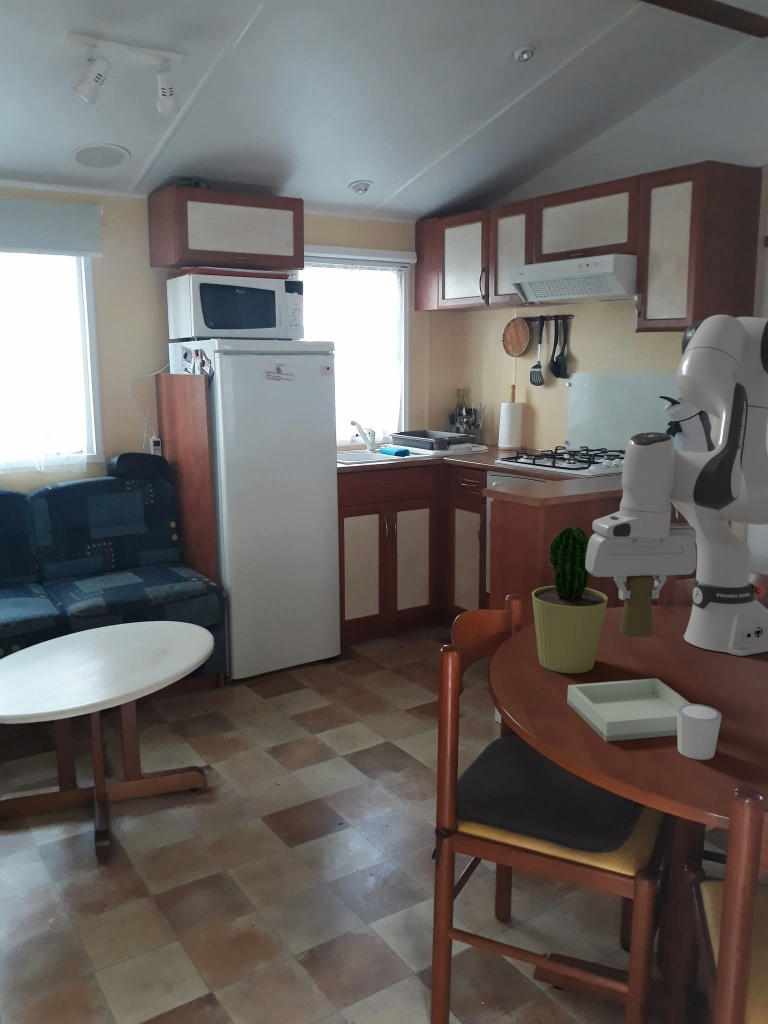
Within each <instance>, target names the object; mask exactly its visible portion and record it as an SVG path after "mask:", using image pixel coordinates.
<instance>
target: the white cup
mask: <svg viewBox="0 0 768 1024" xmlns="http://www.w3.org/2000/svg"><path fill="white" fill-rule="evenodd" d="M721 721H722V713H721V712H720V711H719V710H718V709H716V708H713V707H711V706H709V705H704V704H700V703H699V704H698V703H691V704H684V705H680V706H679V707H678V708H677V735H676V736H677V751H678V752H679V753H680V754H681V755H682V756H685V757H686V758H688V759H689V758H690V759H693V760H700V761H705V760H710V759H713V758H714V756H715V753H716V749H717V748H716V747H717V743H718V739H719V738H718V737H719V731H720V728H721Z"/></svg>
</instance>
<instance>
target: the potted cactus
mask: <svg viewBox="0 0 768 1024" xmlns="http://www.w3.org/2000/svg"><path fill="white" fill-rule="evenodd" d="M584 527H585V525H584V526H582V527H579V526H578V525H574V524H571V525H569V526H568V527H565V528H564V527H562V528H561V530H560V533H559V534H555V536H553V539H552V541H551V542H550V541H549V540H548V541H547V542H546V543H550V544H549V545H550V547H549V548H547V549H548V550H549V554H548V555H546V557H550V559H549V560H546V562H549V561H550V563H549V564H548V566H549V567H552V568H550V571H551V570H553V571H552V572H551V573H553V574H554V578H553V579H552V581H554V585H548V586H543V587H539V588H536V589H534V590H533V591H532V592H531V597H532V608H533V615H534V625H535V626H534V627H535V634H536V644H537V653H538V661H539V664H540V665H541V666H542V667H543V668H545V669H547V670H550V671H552V672H557V673H562V674H563V673H564V674H581V673H586V672H589V671H591V670H593V668H594V666H595V663H596V662H595V661H596V657H597V656H596V655H597V652H598V648H599V644H600V638H601V633H602V628H603V625H604V624H603V623H604V619H605V614H606V611H607V610H606V609H607V605H608V600H609V598H608V596H607V595H606V594H604V592H602V591H601V592H600V591H599V590H595V589H591V588H589V587H588V584H590V581H592V580H591V579H589V574H590V573H589V572H588V571H587V570H586V567H585V562H586V553H587V547H588V542H589V539H590V538H591V536H590V535H587V533H586V532H585V531H586V530H587V529H586V528H585V529H583V528H584ZM589 536H590V537H589ZM588 581H589V582H588Z"/></svg>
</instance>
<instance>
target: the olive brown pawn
mask: <svg viewBox="0 0 768 1024" xmlns="http://www.w3.org/2000/svg"><path fill="white" fill-rule="evenodd" d="M654 579H655V578H653V575H650V576H627V577H626V582H624V585H625V588H626V589H627V590H630V591H631V595H630V599H629V600H624V605H623V609H622V614H621V619H620V624H619V628H618V632H620V634H622V635H624V636H628V637H631V638H632V637H633V638H649V637H652V636H653V635H654V629H653V628H654V626H653V613H652V599H651V592H652V591H653V589H654V585H655V583H654V581H655V580H654Z"/></svg>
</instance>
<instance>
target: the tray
mask: <svg viewBox="0 0 768 1024" xmlns="http://www.w3.org/2000/svg"><path fill="white" fill-rule="evenodd" d="M566 698H567V702H566V703H567V704H568V706H570V707H571V708H572V709H573V710H574V712H576V713H577V714H578V715H579V716H580V718H582V720H584V721H585V722H586V724H588V725H589V727H590V728H592V729H593V730H594V731H595V732H596V734H597V735H598V736H600V738H602V739H603V740H604V742H606V743H607V742H615V741H625V740H627V741H628V740H637V739H649V738H659V737H670V736H678V735H677V708H678V707H679V706H680V705H684V704H692V703H691V702H690V701H688V700H687V699H685V698H684V697H683V696H682V695H680V694H679V693H678V692H676V691H675V690H673V689H672V688H671V687H669V686H668V685H666V684H665V683H664V682H662V681H661V680H660V679H658V678H656V677H655V678H642V679H631V680H630V679H629V680H618V681H617V680H616V681H606V682H605V681H603V682H592V683H589V682H588V683H579V684H568V685H567V697H566Z"/></svg>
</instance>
